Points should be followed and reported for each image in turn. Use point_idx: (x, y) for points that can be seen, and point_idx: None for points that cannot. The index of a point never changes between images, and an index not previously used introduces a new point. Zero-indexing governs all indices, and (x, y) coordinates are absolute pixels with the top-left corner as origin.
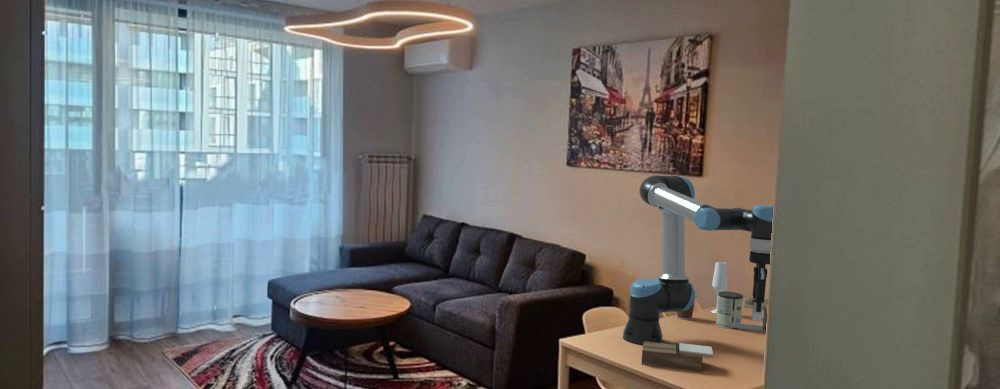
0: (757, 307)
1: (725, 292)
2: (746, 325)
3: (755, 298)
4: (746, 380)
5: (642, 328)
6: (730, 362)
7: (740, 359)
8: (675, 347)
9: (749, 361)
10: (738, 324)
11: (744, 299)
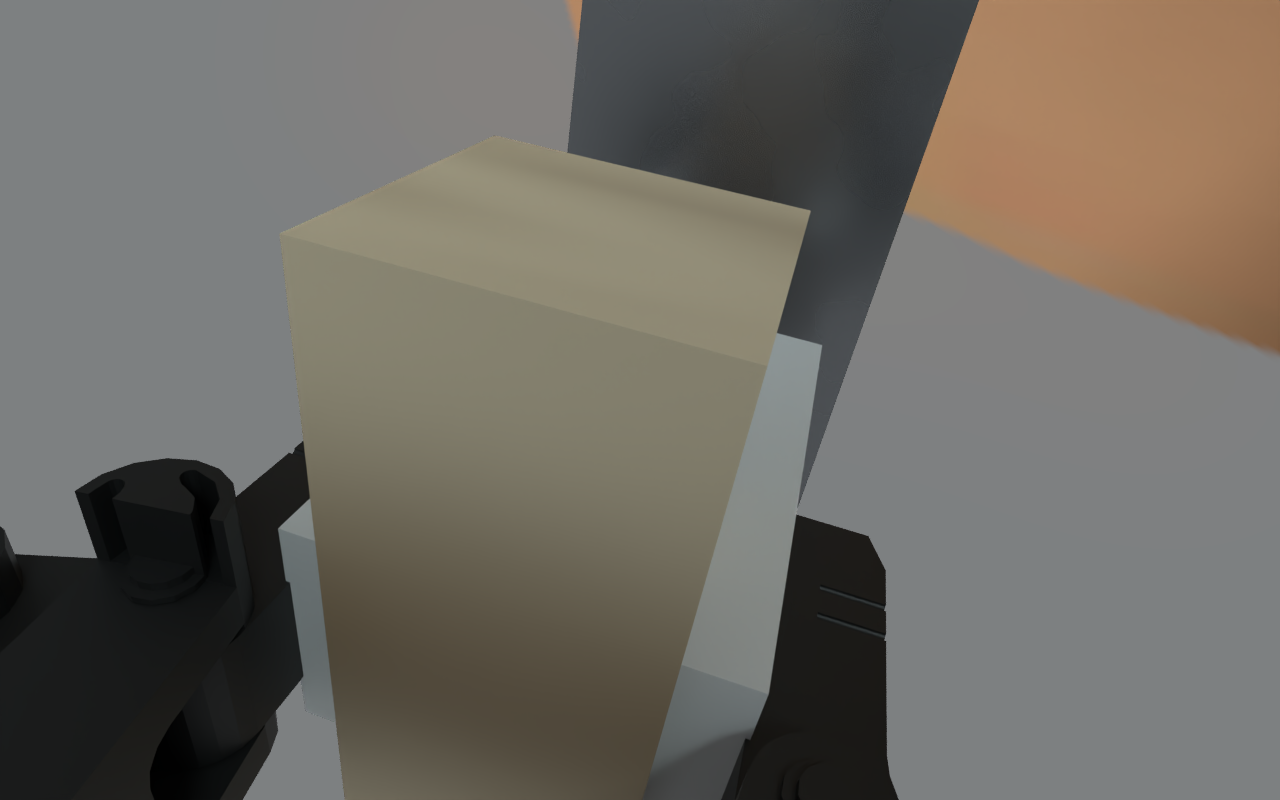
0: (289, 469)
1: None
2: (790, 182)
3: (134, 634)
4: (571, 17)
5: None
6: (1144, 8)
7: (1255, 173)
8: None
9: (1168, 249)
10: (852, 19)
11: (412, 250)
